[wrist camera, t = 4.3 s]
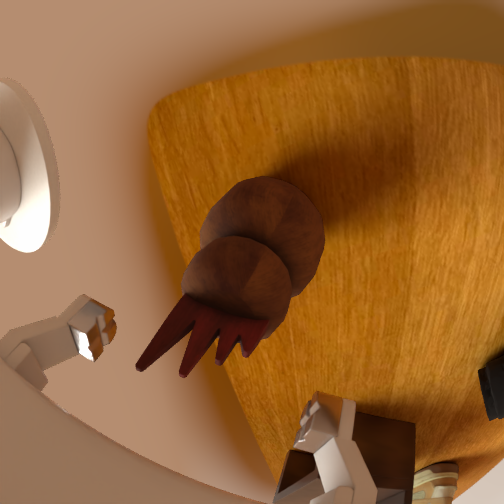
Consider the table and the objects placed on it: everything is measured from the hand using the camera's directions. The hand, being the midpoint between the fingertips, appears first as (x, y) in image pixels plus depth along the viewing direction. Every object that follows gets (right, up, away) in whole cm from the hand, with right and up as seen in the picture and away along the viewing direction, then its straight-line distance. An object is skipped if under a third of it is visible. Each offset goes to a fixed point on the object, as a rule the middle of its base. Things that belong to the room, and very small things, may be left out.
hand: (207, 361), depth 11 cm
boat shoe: (+31, -42, +32) cm, 61 cm away
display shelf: (+15, -23, +26) cm, 37 cm away
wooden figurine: (+4, +7, +11) cm, 14 cm away
